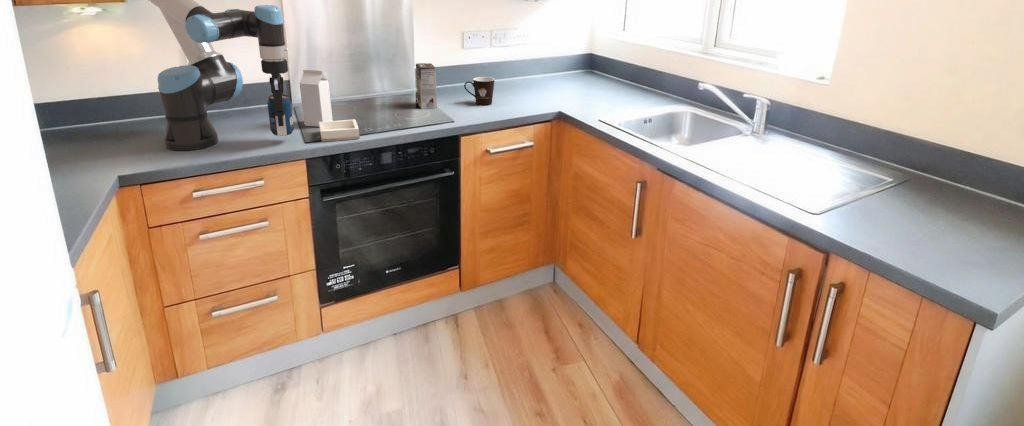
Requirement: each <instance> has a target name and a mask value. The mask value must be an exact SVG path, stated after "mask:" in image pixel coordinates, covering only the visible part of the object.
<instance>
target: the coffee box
mask: <svg viewBox="0 0 1024 426" xmlns="http://www.w3.org/2000/svg"><path fill="white" fill-rule="evenodd" d="M436 70H437V69H436V66H434V65H433V63H431V62H429V63H423V62H422V63H421V62H419V63H415V74H416V75H415V76H416V87H417V88H416V90H417V92H416V93H417V104H418V107H420V109H421V110H429V109H437V105H438V104H437V75H436V74H437V71H436Z"/></svg>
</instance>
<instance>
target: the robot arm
mask: <svg viewBox="0 0 1024 426" xmlns="http://www.w3.org/2000/svg"><path fill="white" fill-rule="evenodd" d="M148 1H149V2H150V3H151V4H153V5H155V6H156V7H157V8H158V9H159V10H160V12H161V13H162V15H163V17H164V19H165V20H166V23H167V25H168V26H169V28H170V29H171V31H172V33H173V36H174V37H175V39H176V40H177V43H178V44H179V46H180V48H181V50H182V52H183V53H184V55H185V58H186V59H187V61H188V63H187V64H186V65H179V66H173V67H168V68H166V69H163V70H161V71H160V72H159V73H158V75H157V84H158V86H157V87H158V91H159V95H160V98H161V103H162V107H163V112H164V116H165V122H166V124H165V131H164V138H163V141H164V146H165V148H166V149H168V150H172V151H195V150H201V149H205V148H209V147H212V146H214V145H216V144H217V143H219V136H218V133H217V131H216V129H215V127H214V125H213V124H212V122H211V121H210V118H209V116H208V111H207V106H211V105H215V104H217V103H221V102H222V103H223V102H228V101H229V100H231V99H235V98H236V97H238V96H239V95H240V93H241V92H242V90H243V86H244V80H243V78H244V77H243V75H242V73H241V70H240V69H239V67H238V66H237V65H236V64H234V63H233V62H229V61H227V60H226V59H225V57H224V55H223V53H219V52H217V51H216V50H215V49H214V46H213V45H212V43H213V42H218V41H223V40H230V39H235V38H242V37H243V38H244V37H249V38H257V40H258V51H259V57H260V59H261V60H260V64H261V72H262V73H264V74H267V75H271V77H269V79H268V81H269V85H270V92H271V94H272V95H273V99H274V108H275V114H273V116H275V117H276V125H277V133H278V136H277V137H286V136H285V135H287V131H286V122H285V115H284V109H283V100H282V95H284V77H282V74H286V73H288V71H289V66H288V60H287V59H286V58H287V52H288V51H289V48H288V47H286V41H285V27H284V18H283V13H282V9H281V7H280V6H278V5H273V4H272V5H271V4H260V5H259V4H258V5H256V6H255V7H254V10H253V11H252V10H245V9H239V8H228V9H226V10H225V11H223V12H222V11H221V12H212V11H210V10H208V9H207V8H205V6H203V5H202V4H200V3H198V2H197V1H196V0H148ZM287 136H288V135H287Z"/></svg>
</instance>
